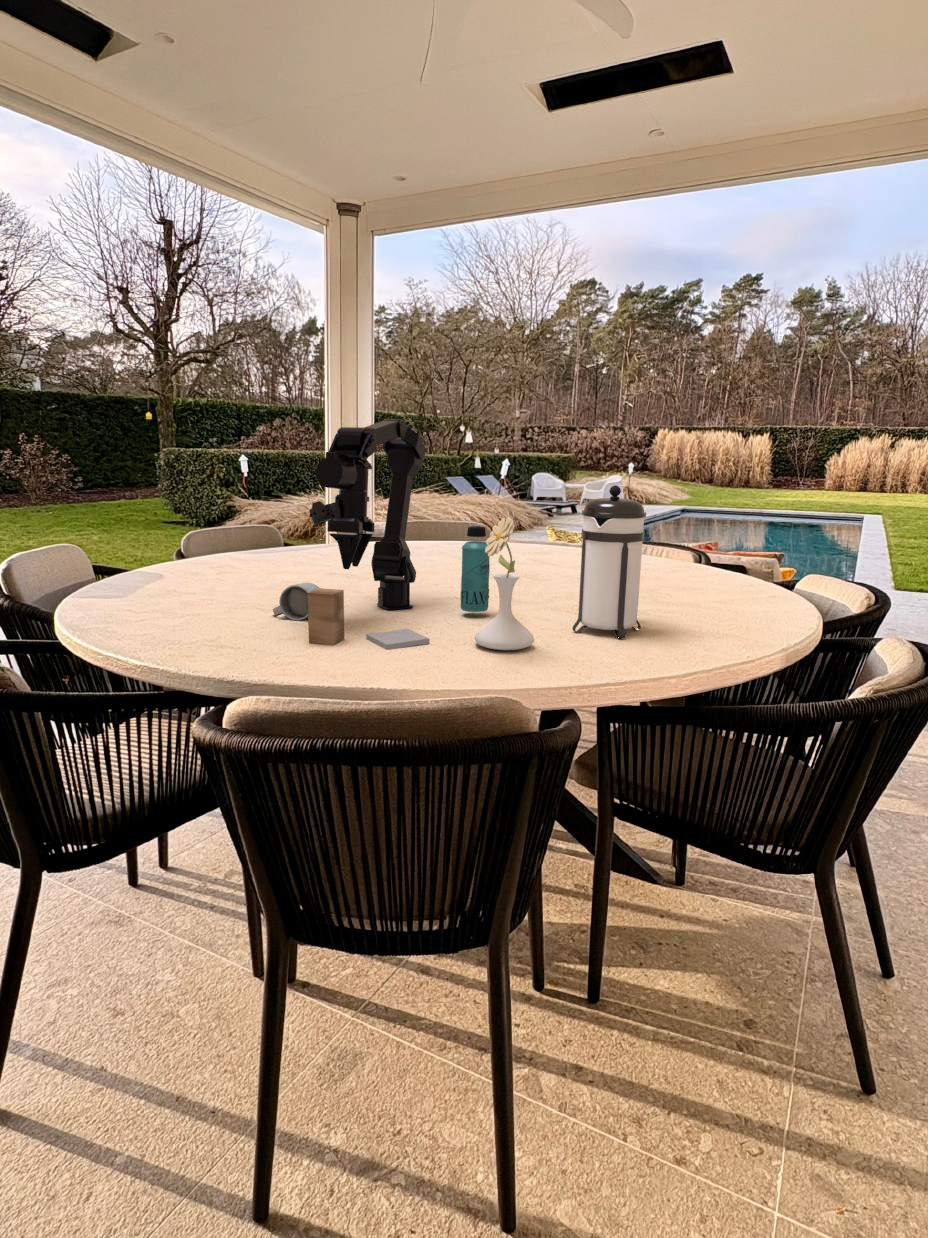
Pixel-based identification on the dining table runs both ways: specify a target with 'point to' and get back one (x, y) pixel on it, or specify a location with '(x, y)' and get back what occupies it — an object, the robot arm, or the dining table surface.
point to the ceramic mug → (295, 601)
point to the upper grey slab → (397, 639)
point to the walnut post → (326, 616)
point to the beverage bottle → (475, 573)
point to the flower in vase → (503, 599)
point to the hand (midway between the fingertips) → (350, 567)
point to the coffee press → (610, 563)
